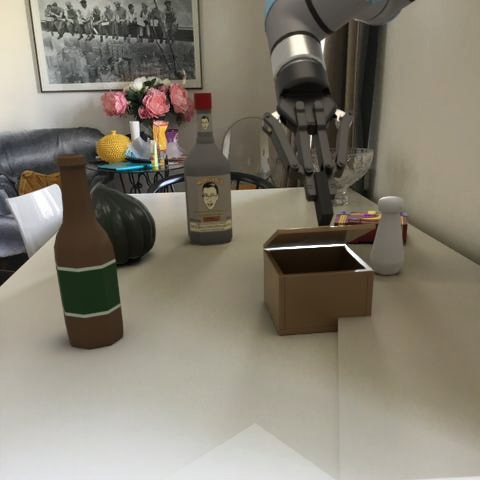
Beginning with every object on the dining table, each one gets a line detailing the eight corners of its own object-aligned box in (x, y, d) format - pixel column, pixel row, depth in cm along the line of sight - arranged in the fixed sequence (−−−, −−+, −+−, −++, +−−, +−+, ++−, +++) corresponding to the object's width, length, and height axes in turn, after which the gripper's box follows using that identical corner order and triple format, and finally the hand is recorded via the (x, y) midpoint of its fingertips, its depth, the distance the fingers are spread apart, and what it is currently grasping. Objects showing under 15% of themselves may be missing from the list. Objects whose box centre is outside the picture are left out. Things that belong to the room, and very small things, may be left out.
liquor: (187, 236, 128) (178, 93, 116) (227, 233, 129) (221, 92, 118) (191, 246, 120) (181, 93, 108) (234, 243, 121) (228, 92, 110)
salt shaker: (387, 278, 96) (393, 202, 91) (362, 271, 100) (366, 197, 95) (410, 271, 99) (416, 197, 94) (384, 264, 104) (389, 193, 99)
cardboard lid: (375, 228, 72) (375, 223, 72) (278, 234, 71) (277, 229, 71) (345, 243, 86) (345, 239, 86) (263, 248, 85) (263, 244, 85)
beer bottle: (119, 348, 73) (95, 157, 64) (59, 350, 73) (26, 160, 64) (129, 325, 80) (109, 150, 71) (75, 327, 81) (47, 152, 71)
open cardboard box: (370, 328, 77) (374, 270, 74) (279, 335, 76) (278, 276, 73) (342, 295, 89) (345, 244, 86) (264, 300, 88) (263, 248, 85)
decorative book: (406, 245, 115) (408, 221, 113) (327, 243, 119) (327, 219, 117) (405, 232, 125) (407, 209, 123) (332, 230, 129) (332, 208, 127)
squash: (179, 232, 109) (140, 168, 111) (114, 251, 99) (72, 182, 101) (151, 268, 119) (115, 210, 121) (90, 289, 110) (52, 226, 112)
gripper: (339, 97, 84) (368, 233, 76) (253, 100, 83) (271, 238, 74) (351, 56, 78) (384, 200, 69) (257, 59, 76) (278, 206, 67)
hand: (326, 220), depth 71 cm, fingers closed
